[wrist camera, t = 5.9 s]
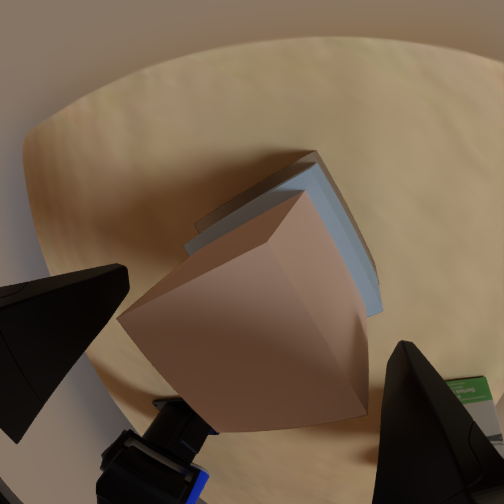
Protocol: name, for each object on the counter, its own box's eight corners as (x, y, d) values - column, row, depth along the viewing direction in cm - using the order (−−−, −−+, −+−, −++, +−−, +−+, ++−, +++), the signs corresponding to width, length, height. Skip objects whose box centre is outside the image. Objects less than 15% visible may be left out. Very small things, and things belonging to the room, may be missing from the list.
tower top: (274, 317, 15) (258, 353, 12) (212, 224, 14) (182, 246, 11) (376, 275, 12) (383, 311, 10) (317, 162, 11) (309, 168, 9)
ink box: (441, 378, 16) (456, 513, 6) (487, 374, 15) (515, 493, 4) (409, 433, 19) (404, 537, 9) (450, 430, 18) (454, 527, 8)
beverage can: (180, 458, 36) (141, 520, 23) (207, 467, 35) (170, 534, 22) (188, 468, 38) (153, 526, 25) (213, 477, 37) (180, 538, 24)
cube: (260, 343, 12) (217, 432, 8) (197, 250, 11) (116, 318, 7) (366, 307, 10) (367, 414, 6) (305, 189, 9) (267, 241, 5)
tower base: (274, 301, 18) (262, 328, 16) (216, 209, 17) (193, 223, 14) (374, 259, 15) (379, 284, 12) (317, 150, 14) (311, 152, 11)
